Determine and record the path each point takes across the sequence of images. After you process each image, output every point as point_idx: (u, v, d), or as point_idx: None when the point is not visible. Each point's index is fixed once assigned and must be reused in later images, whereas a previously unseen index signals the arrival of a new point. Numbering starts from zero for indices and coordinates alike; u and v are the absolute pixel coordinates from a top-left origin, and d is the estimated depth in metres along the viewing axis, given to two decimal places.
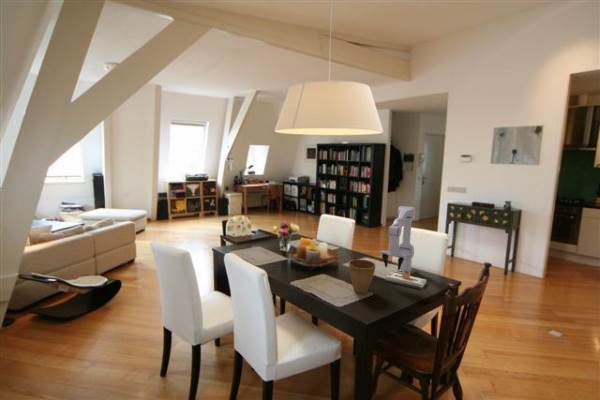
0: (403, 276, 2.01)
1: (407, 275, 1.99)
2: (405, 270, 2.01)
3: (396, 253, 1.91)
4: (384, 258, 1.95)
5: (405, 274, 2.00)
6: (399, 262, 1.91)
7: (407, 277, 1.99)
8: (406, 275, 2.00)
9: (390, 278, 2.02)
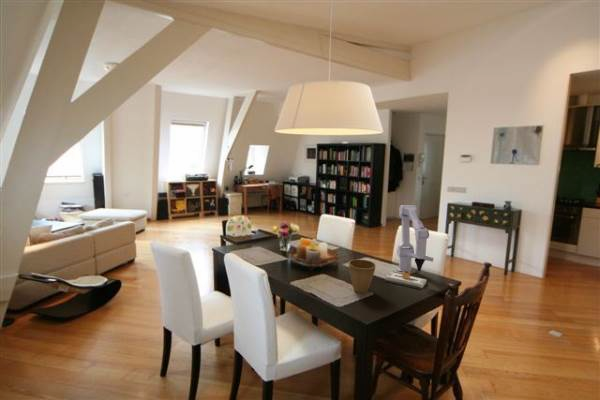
0: (403, 276, 2.01)
1: (407, 275, 1.99)
2: (405, 270, 2.01)
3: (423, 256, 1.92)
4: (417, 262, 1.94)
5: (405, 274, 2.00)
6: (420, 264, 1.93)
7: (407, 277, 1.99)
8: (406, 275, 2.00)
9: (390, 278, 2.02)
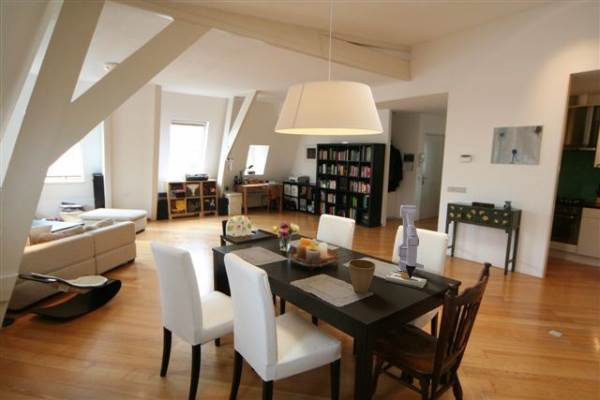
0: (402, 276, 2.01)
1: (406, 275, 2.00)
2: (404, 270, 2.01)
3: (414, 263, 1.96)
4: (408, 269, 1.98)
5: (404, 274, 2.00)
6: (411, 270, 1.97)
7: (406, 277, 2.00)
8: (404, 274, 2.00)
9: (390, 278, 2.02)
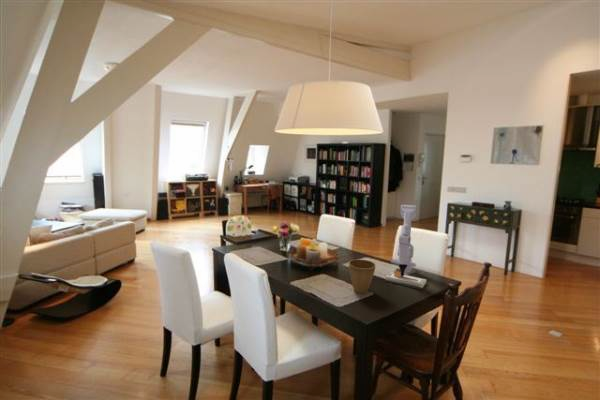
0: (395, 274, 2.03)
1: (399, 273, 2.02)
2: (397, 268, 2.04)
3: (406, 261, 1.99)
4: (401, 267, 2.00)
5: (397, 272, 2.03)
6: (402, 269, 2.00)
7: (399, 275, 2.02)
8: (398, 273, 2.02)
9: (390, 278, 2.02)
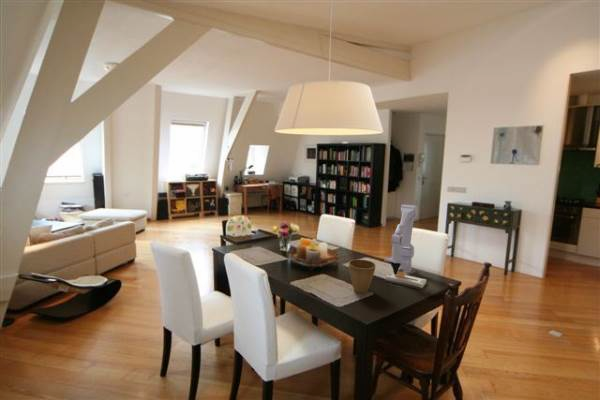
0: (398, 275, 2.02)
1: (402, 274, 2.01)
2: (400, 269, 2.03)
3: (399, 260, 2.01)
4: (393, 266, 2.03)
5: (400, 273, 2.02)
6: (396, 267, 2.02)
7: (402, 276, 2.01)
8: (401, 274, 2.01)
9: (390, 278, 2.02)
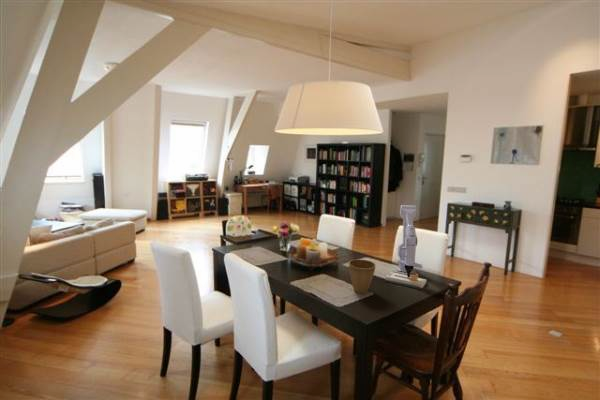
0: (411, 278, 1.98)
1: (415, 277, 1.97)
2: (413, 272, 1.98)
3: (412, 263, 1.96)
4: (407, 269, 1.98)
5: (413, 276, 1.97)
6: (409, 270, 1.98)
7: (415, 279, 1.97)
8: (414, 276, 1.97)
9: (390, 278, 2.02)
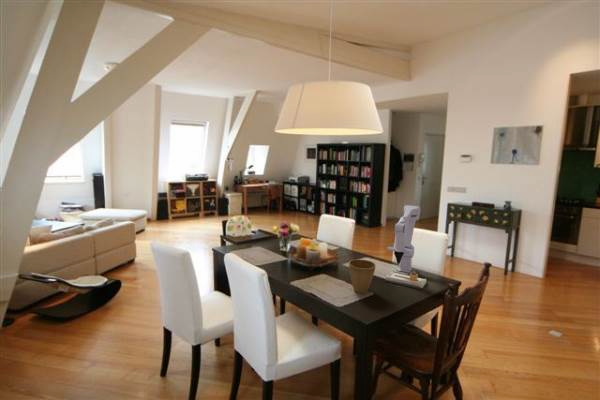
0: (411, 278, 1.98)
1: (415, 277, 1.97)
2: (413, 272, 1.99)
3: (402, 249, 2.02)
4: (396, 255, 2.04)
5: (413, 276, 1.97)
6: (399, 256, 2.03)
7: (415, 279, 1.97)
8: (413, 276, 1.97)
9: (390, 278, 2.02)
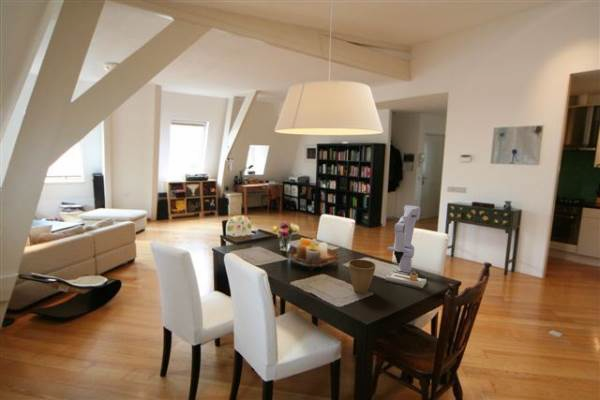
0: (411, 278, 1.98)
1: (415, 277, 1.97)
2: (413, 272, 1.99)
3: (402, 249, 2.02)
4: (396, 255, 2.04)
5: (413, 276, 1.97)
6: (399, 256, 2.03)
7: (415, 279, 1.97)
8: (413, 276, 1.97)
9: (390, 278, 2.02)
